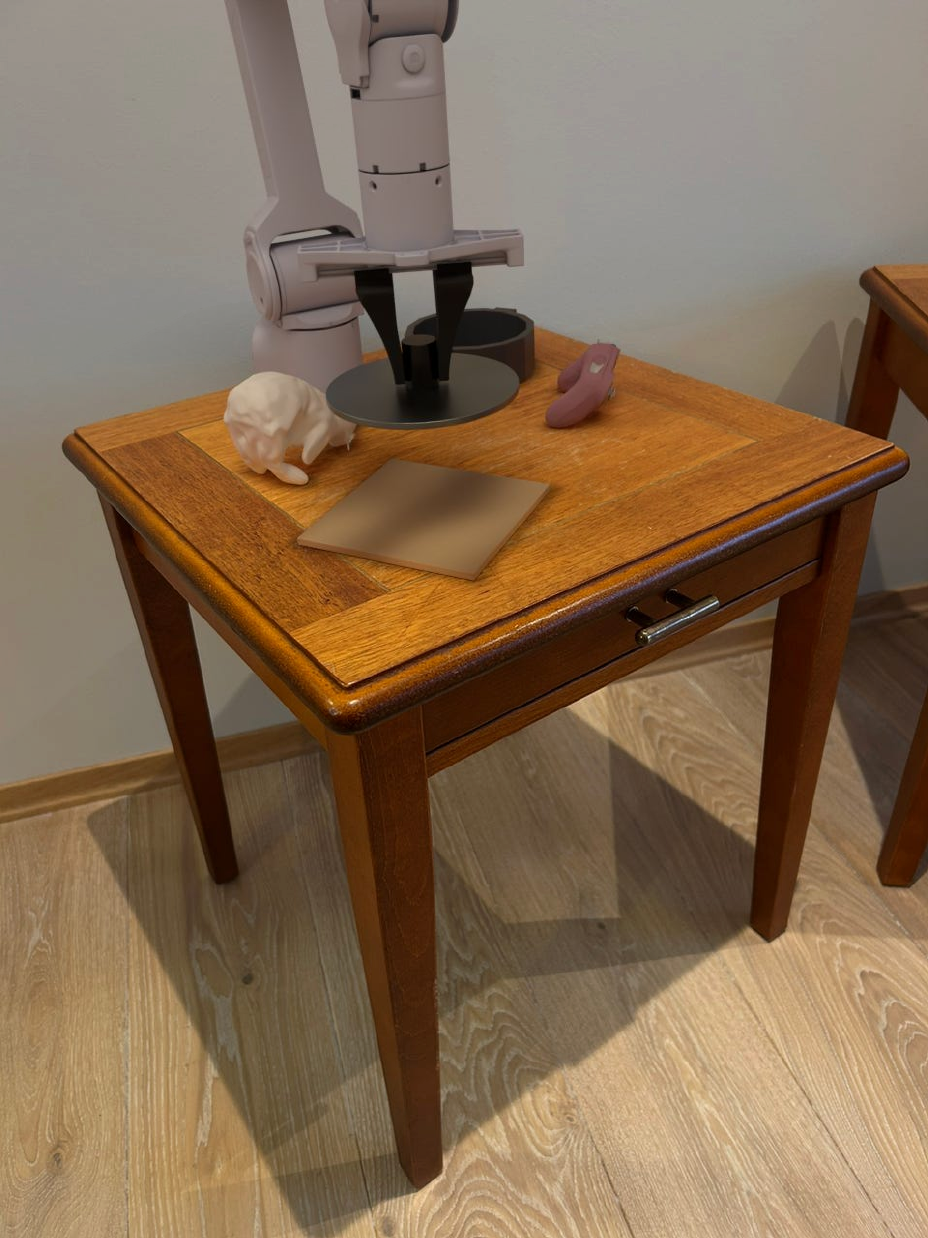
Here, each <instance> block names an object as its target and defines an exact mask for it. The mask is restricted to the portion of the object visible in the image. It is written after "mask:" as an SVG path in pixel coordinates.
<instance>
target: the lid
mask: <svg viewBox="0 0 928 1238" xmlns="http://www.w3.org/2000/svg"><path fill="white" fill-rule="evenodd" d="M400 344H401V349H402V356H403V364H404V374H405V384H402V385H396V384H395V379H394V374H393V370H392V367H391V363H390V360H389V358H388V357H385V358H379V359H374V360H372V361H368V362H365V363H364V364H363V365H360V366H357V367H355V368H352V369H350V370H348V371H346V372H344V373H343V374H341V375H339V376H338V377H337V378H335V379H334V380H333V381H332V382H331V383H330V384H329V386H328V388H327V390H326V403H327V405H328V408H329V409H330V410H331V411H332V412H333V413H334V414H335V415H337V416H338V417H340V418H342V419H344V420H346V421H348V422H351V423H354V424H357V426H361V427H365V428H366V427H367V428H372V429H379V430H389V431H390V430H391V431H422V430H423V431H424V430H432V429H433V430H434V429H442V428H449V427H454V426H455V427H456V426H458V425H459V426H460V425H464V424H468V423H471V422H475V421H479V420H481V419H484V418H486V417H489V416H491V415H494V414H497V413H498V412H500V411H502V410H503V409H505V408H507V407H508V406H509V405H510V404H512V403H513V402H514V400H515V399H516V398H517V396H518V394H519V392H520V384H519V378H518V376H517V374H516V373H515V372H514V370H513V369H511V368H510V367H508V366H507V365H505V364H503V363H501V362H498V361H496V360H493V359H489V358H486V357H481V356H476V355H470V354H461V353H452V354H451V360H450V369H449V380H448V381H439V376H438V357H437V343H436V338H435V337H434V336H431V335H425V334H420V335H412V336H408V337H405V336H404V337H403V338H402V339H401V340H400Z"/></svg>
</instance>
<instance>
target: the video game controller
mask: <svg viewBox="0 0 928 1238" xmlns="http://www.w3.org/2000/svg"><path fill="white" fill-rule="evenodd" d="M620 353H621V348H619V347H618V346H617V345H616V344H614V343H610V342H609V341H607V342H602V341H601V340H600V339H599V338H598V339H597V342H596V343H593V344H591V345H590V346H589V347H588V348H587V349H586V350H585V351H584V352H583V354H582V355H580V356H579V357H578V358H576V359H575V360H574V361H573V362H571V363H570V364H568V365H567V366H565V367H564V368H563V369H562V370H561V372H560V373H559V375H558V376H557V381H556V382H557V383H556V384H557V388H558V389H559V391H561V392H564V393H563V394H562V395H561V396H560V397H558V398H556V399H555V400H554V401H552V403H551V404H550V405H549V406H548V408H547V409H546V411H545V416H544V418H545V422H546V423H547V425H548V426H549V427H552V428H553V429H558V428H565V427H569V426H573V425H575V424H576V423H578V422H580V421H582V420H583V419H585V418H587V419H591V416H592V415H593V414H594V413H595V411H596V410H598V409H599V407H601V404H602V403H603V401H605V400H606V399H607V402H609V401H611V400H613V399H614V397H615V396H616V387H613V381H614V378H615V375H616V374H615V373H616V372H613V371H614V369H615V367H616V365H617V360H618V358H619V356H620ZM612 388H613V389H612Z"/></svg>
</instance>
